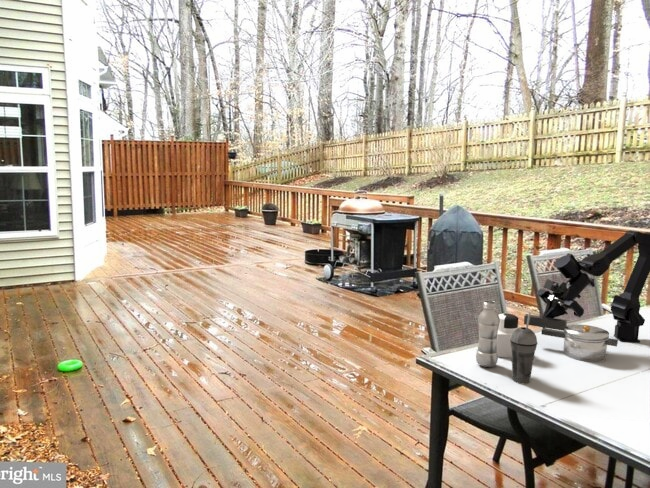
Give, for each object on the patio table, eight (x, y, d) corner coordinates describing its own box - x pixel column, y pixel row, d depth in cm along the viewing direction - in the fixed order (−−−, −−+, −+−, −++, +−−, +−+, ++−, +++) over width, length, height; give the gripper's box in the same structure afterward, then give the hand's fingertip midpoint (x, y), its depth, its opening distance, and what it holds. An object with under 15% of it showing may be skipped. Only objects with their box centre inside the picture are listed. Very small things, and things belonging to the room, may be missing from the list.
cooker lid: (610, 332, 168) (611, 322, 168) (606, 343, 158) (607, 333, 157) (528, 319, 182) (529, 310, 182) (520, 328, 172) (520, 319, 171)
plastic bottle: (497, 363, 160) (501, 300, 157) (497, 371, 153) (501, 306, 151) (475, 360, 162) (479, 298, 159) (474, 368, 156) (478, 304, 153)
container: (514, 349, 172) (516, 312, 170) (520, 358, 164) (523, 318, 162) (490, 348, 173) (492, 311, 171) (496, 357, 165) (498, 318, 163)
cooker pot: (617, 354, 168) (619, 334, 167) (614, 367, 157) (616, 345, 156) (544, 341, 180) (546, 322, 179) (537, 352, 169) (538, 332, 168)
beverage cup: (503, 375, 150) (507, 309, 147) (527, 375, 151) (531, 308, 148) (514, 386, 143) (519, 316, 140) (539, 385, 144) (544, 316, 141)
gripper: (542, 266, 183) (513, 298, 182) (578, 277, 165) (546, 312, 164) (560, 287, 186) (531, 318, 185) (598, 299, 168) (566, 334, 167)
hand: (542, 320), depth 175 cm, fingers closed
